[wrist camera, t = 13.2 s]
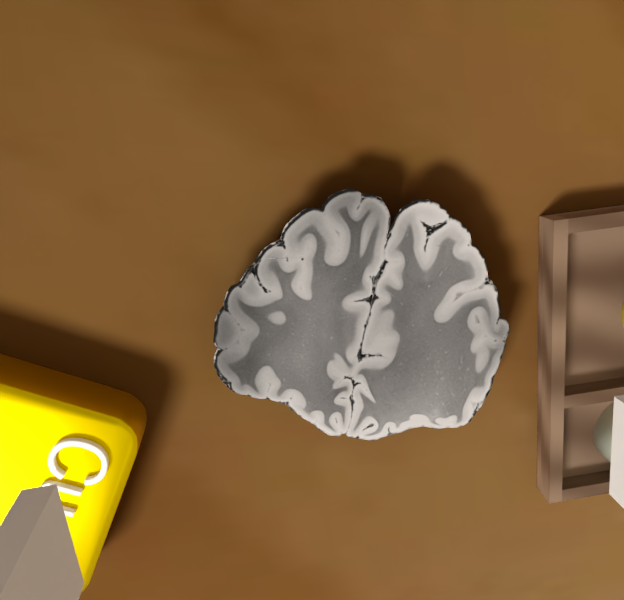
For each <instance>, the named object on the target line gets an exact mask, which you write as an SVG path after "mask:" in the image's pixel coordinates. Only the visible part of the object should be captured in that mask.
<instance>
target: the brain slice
mask: <svg viewBox="0 0 624 600" xmlns="http://www.w3.org/2000/svg"><path fill="white" fill-rule="evenodd" d="M389 226H390V213H389V211H388V208H387V206H386V204H385V203H384V201H383V200H382V198H381V197H378V196H376V195H374V194H361V193H360V192H359V191H358V190H356V189H345V190H342V191H338V192H336V193H334V194H332V195H330V196H329V197H328V198H327V200H326V201H325V202H324V203H323V205H322V207H321V209H319V208H313V207H310V208H307V209H305V210H302V211H301V212H300V213H298V214H297V215H296V216H295V217H293V218H292V219H291V220H290V221H289V222H288V223H287V224H286V225H285V227H284V229H283V232H282V234H281V238H280V239H278V240H276V241H274V242H272V243H270V244H269V245H268V246H267V247H265V248H264V249H263V250H262V251H261V253H260V254H259V256H258V257H257V259H256V260H255V262H254V263H253V264H252V265H251V266H250V267H249V268H248V269H247V270H246V271H245V273H244V275H243V276H242V278H241V280H240V281H239V283H236V284H234V285H232V286H231V287H230V288H229V290H228V291H227V293H226V295H225V299H224V304H223V307H222V308H221V310H220V311H219V312H218V314H217V316H216V319H215V331H214V340H213V341H214V344H215V346H216V347H217V350H216V353H215V356H214V366H215V369H216V372H217V375H218V376H219V378H220V379H221V380H222V381H223V383H224V384H225V385H226V386H227V387H228V388H229V389H231V390H232V391H233V392H235V393H237V394H245V395H248V396H250V397H253V398H258V399H269V400H273V401H276V402H280V403H284V404H286V405H287V406H288V407H289V408H291V409H292V410H293V411H294V412H295V413H297V414H298V415H299V416H300V417H302V418H303V419H305V420H306V421H308V422H310V423H312V424H314V425H315V426H316V428H318V429H319V430H321V431H323V432H324V433H326V434H328V435H331V436H340V435H341V434H344V433H346V435H347V437H351V438H358V439H365V440H372V441H373V440H377V439H380V438H383V437H385V436H387V435H392V434H397V433H400V432H404V431H406V430H408V429H410V428H416V427H422V426H425V427H430V428H437V429H441V428H447V427H450V428H456V427H460V426H463V425H465V424H467V423H468V422H470V421H471V419H472V418H473V416H474V415H475V414H476V412H477V411H478V410H479V409H480V407H481V406H482V404H483V402H484V400H485V399H486V397H487V395H488V393H489V391H490V389H491V386H492V383H493V378H494V375H495V373H496V371H497V369H498V366H499V363H500V360H501V358H502V355H503V352H504V349H505V345H506V342H505V340H506V338H507V336H508V333H509V325H508V322H507V321H506V320H505V319H503V318H500V315H501V308H500V303H499V298H498V291H497V287H496V286H495V285H494V284H493V282H492V280H489V278H488V268H487V264H486V260H485V259H484V257H483V256H482V254H481V252H480V251H479V249H478V248H477V247H476V246H475V245H474V244H473V243H472V242H471V236H470V232H469V231H468V229H467V228H466V227H465V226H464V225H463V224H462V223H461V222H460V221H459V220H457V219H456V218H454V217H451V216H449V214H448V213H447V211H446V210H445V209H444V208H443V207H442V206H441V205H440V204H438V203H436V202H434V201H431V200H429V199H418V200H415V201H413V202H411V203H409V204H407V205H405V206H403V207H402V208H401V209H400V210H399V212H398V213H397V214H396V216H395V218H394V221H393V224H392V225H391V226H390V227H389Z"/></svg>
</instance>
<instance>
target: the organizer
mask: <svg viewBox="0 0 624 600" xmlns="http://www.w3.org/2000/svg"><path fill="white" fill-rule="evenodd" d="M623 301H624V205H619V206H611V207H604V208H596V209H589V210H581V211H573V212H566V213H558V214H551V215H543V216H539V314H538V439H537V488H538V490H539V491H540V492H541V493H542V495H543V496H544V497H545V498H546V500H547V501H548V502H549V503H554V502H560V501H565V500H571V499H577V498H583V497H589V496H595V495H601V494H607V493H609V485H610V466H611V462H610V461H608V460H607V459H606V458H605V457H604V456H603V455H602V454H601V453H600V452H599V451H598V450H597V448H596V446H595V443H594V439H593V432H594V427H595V424H596V421H597V419H598V417H599V416H600V414H601V413H602V412H603V411H604V410H605V409H606V408H607V407H608V406H609V405H610V404H612V403H613V402H614V396H619V395H624V327H623V323H622V318H621V308H622V304H623Z"/></svg>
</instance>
